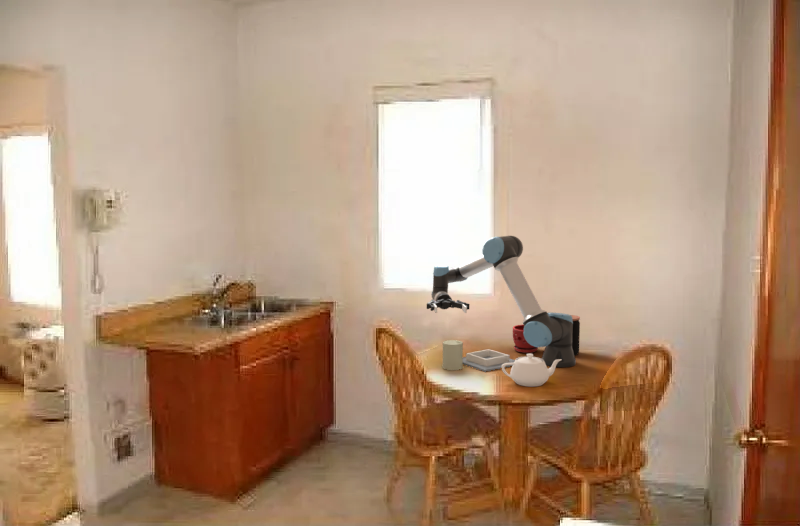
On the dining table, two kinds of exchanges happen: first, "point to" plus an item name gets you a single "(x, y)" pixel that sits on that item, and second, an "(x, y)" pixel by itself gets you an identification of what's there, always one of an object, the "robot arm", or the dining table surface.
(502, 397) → the dining table surface
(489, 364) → the tray
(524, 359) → the teapot
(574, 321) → the coffee jar
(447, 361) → the can
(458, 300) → the robot arm
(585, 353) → the dining table surface
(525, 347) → the plant pot
